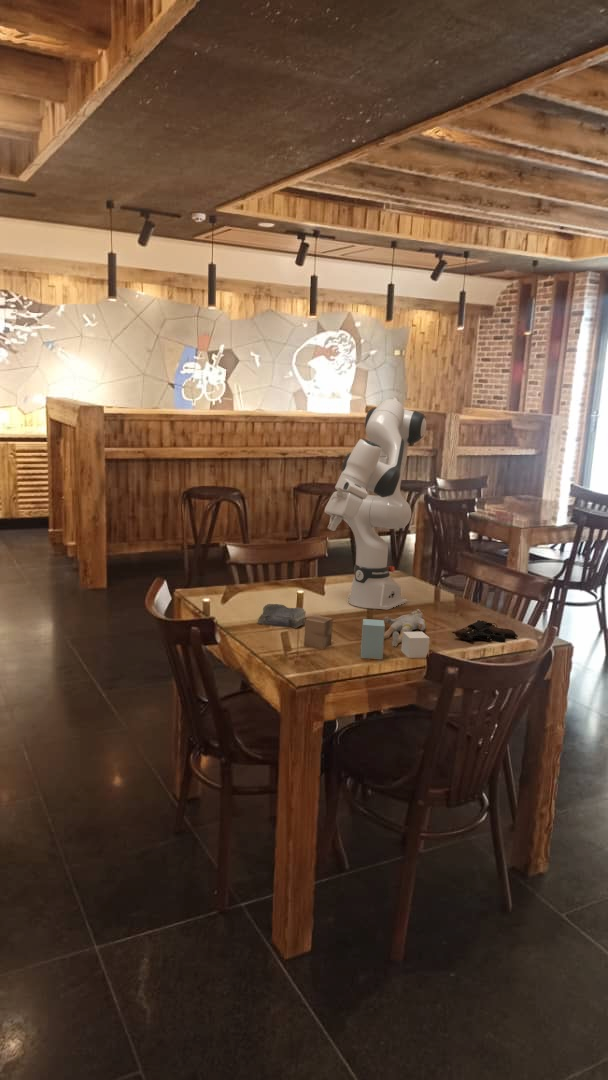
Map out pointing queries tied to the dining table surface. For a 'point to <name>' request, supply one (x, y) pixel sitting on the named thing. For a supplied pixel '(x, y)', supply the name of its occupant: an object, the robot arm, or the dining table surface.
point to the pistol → (485, 632)
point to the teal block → (372, 638)
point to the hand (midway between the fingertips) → (330, 529)
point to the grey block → (415, 644)
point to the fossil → (282, 616)
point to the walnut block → (318, 631)
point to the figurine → (404, 625)
